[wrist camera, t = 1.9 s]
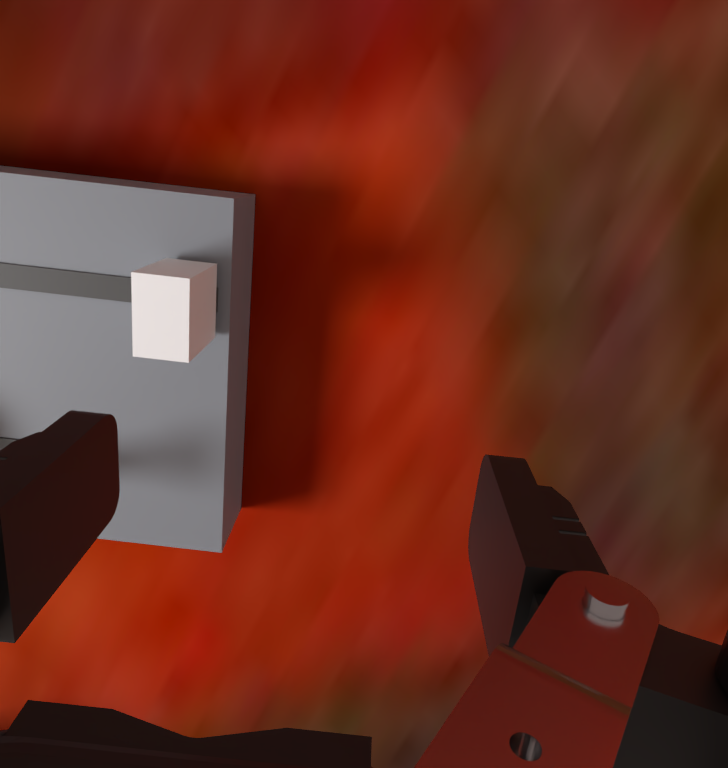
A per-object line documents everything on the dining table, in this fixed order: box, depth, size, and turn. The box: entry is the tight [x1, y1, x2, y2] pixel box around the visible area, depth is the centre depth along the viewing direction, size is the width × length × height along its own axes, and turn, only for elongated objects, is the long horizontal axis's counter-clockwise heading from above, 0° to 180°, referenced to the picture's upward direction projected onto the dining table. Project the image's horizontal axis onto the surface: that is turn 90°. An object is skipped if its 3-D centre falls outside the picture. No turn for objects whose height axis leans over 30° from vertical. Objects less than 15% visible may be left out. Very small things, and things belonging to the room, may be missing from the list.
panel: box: [0, 166, 255, 553], centre depth 28 cm, size 20×16×4 cm
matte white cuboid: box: [131, 258, 217, 363], centre depth 23 cm, size 2×3×4 cm, turn 174°
